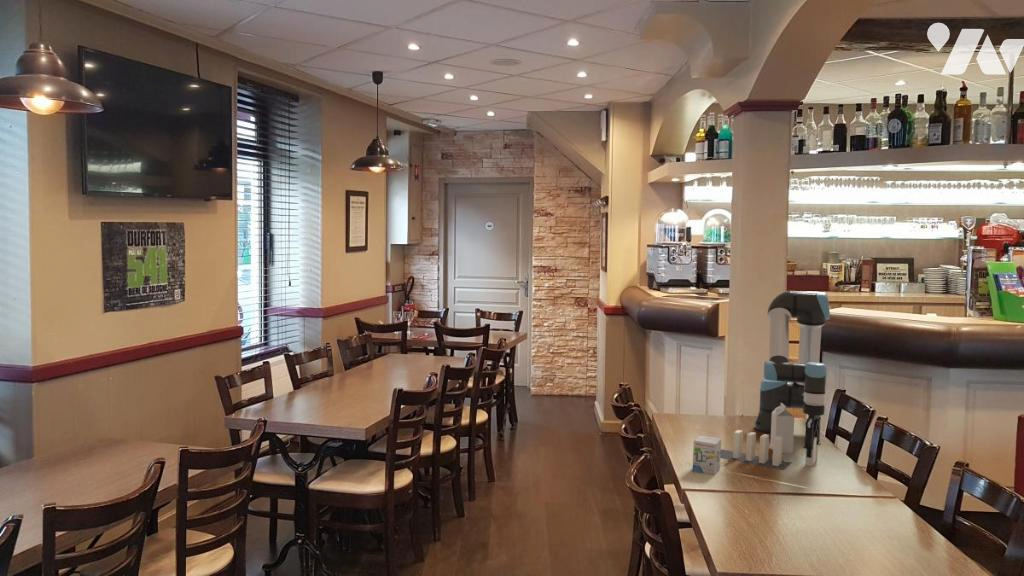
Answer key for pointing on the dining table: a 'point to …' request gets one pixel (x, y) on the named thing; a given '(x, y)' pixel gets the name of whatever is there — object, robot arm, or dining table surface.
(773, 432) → the milk carton
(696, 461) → the ink box
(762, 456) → the domino
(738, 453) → the domino
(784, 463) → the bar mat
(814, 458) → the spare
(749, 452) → the domino
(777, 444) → the domino
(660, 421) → the dining table surface
